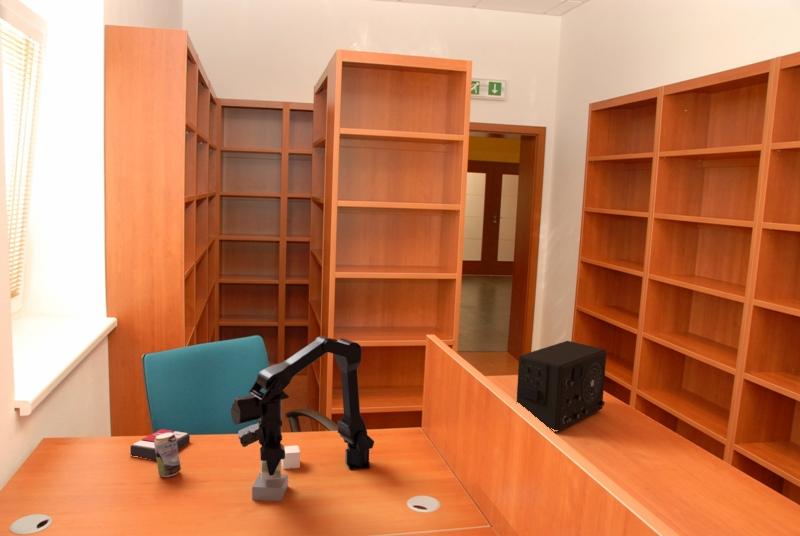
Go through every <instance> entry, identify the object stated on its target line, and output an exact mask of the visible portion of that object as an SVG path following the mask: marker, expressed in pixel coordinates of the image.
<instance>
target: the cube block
mask: <svg viewBox="0 0 800 536" xmlns="http://www.w3.org/2000/svg"><path fill="white" fill-rule="evenodd" d="M281 460H282V459H281ZM281 460H280V462H279V464H278V466H277V468H276V470H275V473H274V475H269V472H268V467H267V462H266V461H261V460H260V473H261V477H262V479H271V478H281V474H282V471H281V470H282V469H281V468H282V462H281Z"/></svg>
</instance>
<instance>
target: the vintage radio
mask: <svg viewBox="0 0 800 536" xmlns="http://www.w3.org/2000/svg"><path fill="white" fill-rule="evenodd" d="M518 357H519V358H518V371H517V372H518V373H517V386H516V387H517V388H516V403H517V402H518V403H520V404H521V405H522V406H523V407H525V408H526V409H527V410H528V411H530V412H531V413H532V414H533V415H534V416H535V417H537V418H538V419H539V420H540V421H541V422H543V423H544V424H545V425H546V426H547V427H549V428H550V429H551V428H552V429H554V430H559V431H561V430H563V429H565V428H566V427H569V426H570V425H572V424H575V423H577V422H578V421H581V420H583V419H585V418H587V417H588V416H589V417H590V415H592V414H595V413H594V412H596V413H597V412H598V411H600V410H602V409H603V407H604V406H605V404H606V402H605V401H604V390H605V378H606V377H605V376H606V365H607V363H606V362H607V350H606V349H605V348H603V347H602V348H601V347H598V346H597V347H596V346H591V345H587V344H583V343H579V342H575V341H571V340H566V341H562V342H559V343H556V344H552V345H549V346H546V347H543V348H539V349H537V350H534V351H530V352H527V353H524V354H520V355H519V356H518ZM552 429H551V430H552ZM551 430H550V431H551ZM552 431H553V430H552ZM552 431H551V432H552Z"/></svg>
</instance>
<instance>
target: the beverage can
mask: <svg viewBox="0 0 800 536" xmlns="http://www.w3.org/2000/svg"><path fill="white" fill-rule="evenodd" d="M154 445H155V452H156V459H157V461H156V463H157V470H158V475H159V476H161V477H162V478H170V477H173V476H175V475H177V474H179V472H180V471H181V469H182V467H181V461H180V460H181V459H180V454H179V450H178V446H177V439H176V436H175V435H174V433H172V432H168V433H163V434H160V435H158V436H156V439H155V441H154Z"/></svg>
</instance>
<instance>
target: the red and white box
mask: <svg viewBox="0 0 800 536" xmlns="http://www.w3.org/2000/svg"><path fill="white" fill-rule="evenodd" d="M168 432H172V433H174V435H175V436H176V439H177V446H178V451H179V450H181V448H183V447H185V446H186V445H188V444H190V441H191V440H190V434H189V433H187V432H182V431H178V430H177V431H176V430H175V431H174V430H170V429H169V430H168V429H163V428H161V429H158V430H157V431H156V432H153V433H151V434H149V435H147V436H146V437H143V438H142V439H141V440H138V441H137V442H134V443H133V444H131V445H130V456H131V455H132V456H138V457H142V458H147V459H146V460H148V459H151V460H150V461H154V460H156V461H155V462H157V459H156V452H155V445H154V441H155V439H156V436H158V435H160V434H163V433H168ZM142 458H141V459H142Z"/></svg>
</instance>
